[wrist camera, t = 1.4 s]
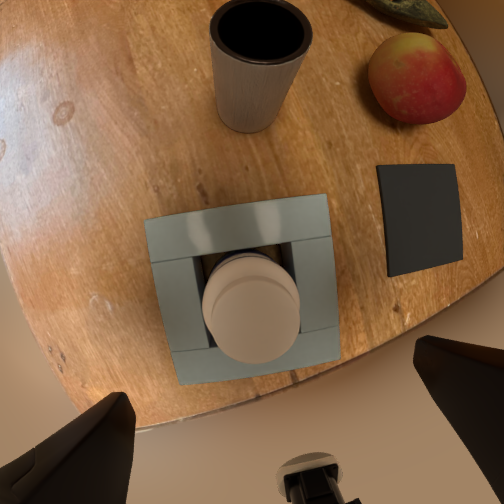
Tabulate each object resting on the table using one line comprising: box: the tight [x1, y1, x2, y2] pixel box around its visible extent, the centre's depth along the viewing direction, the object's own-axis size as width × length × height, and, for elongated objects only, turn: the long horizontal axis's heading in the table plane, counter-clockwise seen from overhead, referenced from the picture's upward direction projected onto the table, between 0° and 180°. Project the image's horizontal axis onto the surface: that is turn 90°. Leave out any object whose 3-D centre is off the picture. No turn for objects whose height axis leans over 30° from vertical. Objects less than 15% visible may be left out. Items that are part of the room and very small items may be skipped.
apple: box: [368, 33, 466, 124], centre depth 16 cm, size 8×8×8 cm
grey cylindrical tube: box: [209, 0, 313, 133], centre depth 15 cm, size 4×4×10 cm
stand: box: [144, 193, 341, 385], centre depth 19 cm, size 11×11×4 cm
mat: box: [376, 164, 463, 277], centre depth 22 cm, size 9×9×1 cm
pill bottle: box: [202, 248, 300, 364], centre depth 17 cm, size 5×5×9 cm
